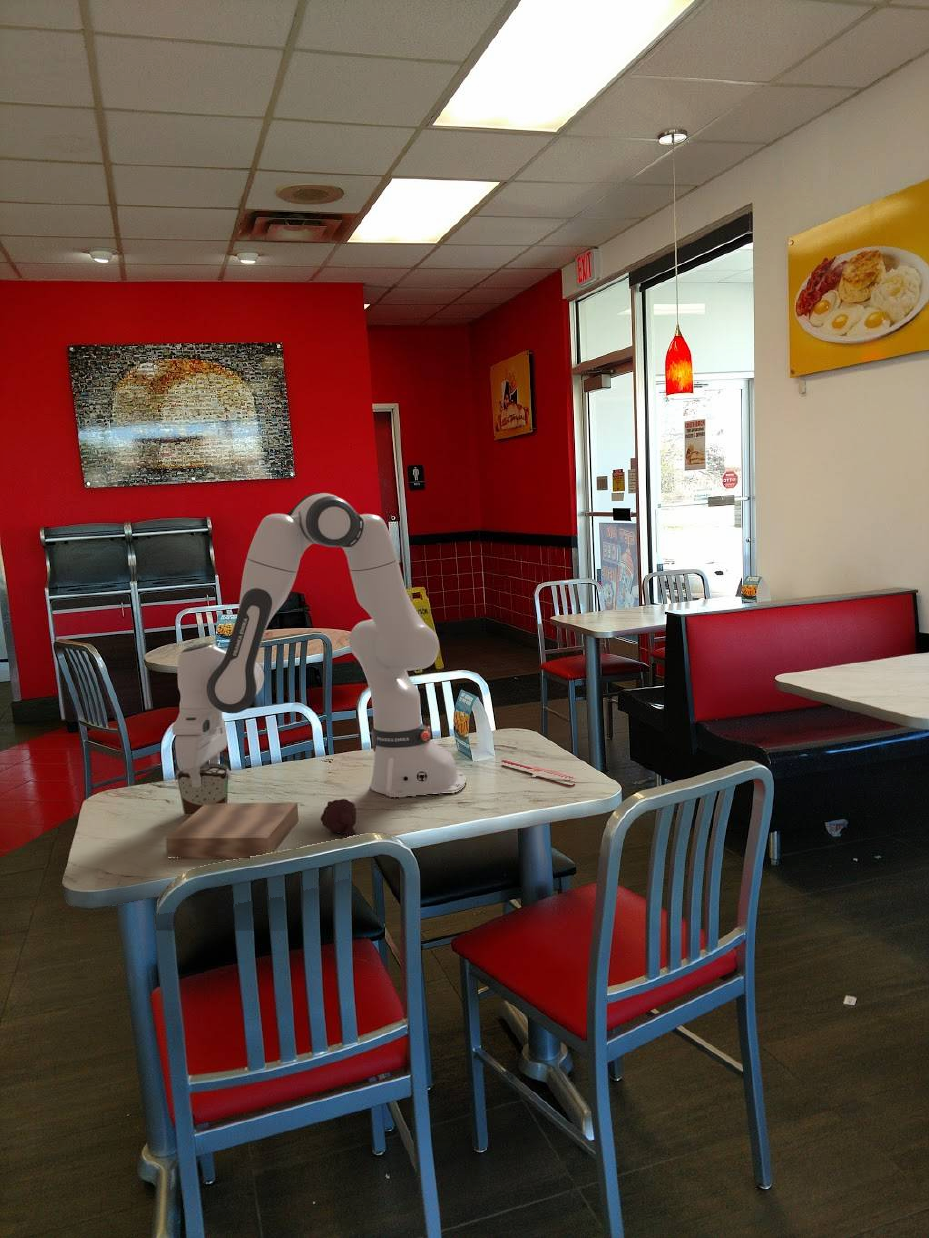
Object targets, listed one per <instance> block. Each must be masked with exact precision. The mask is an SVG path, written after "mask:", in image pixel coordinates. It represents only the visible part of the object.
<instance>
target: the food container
mask: <svg viewBox="0 0 929 1238" xmlns="http://www.w3.org/2000/svg"><path fill="white" fill-rule="evenodd" d="M199 773H200V777H202V783H203V784H202V785H201V786H200V787H193V786H192V779H191V777H190V775H189V773H188V771H180V769H179V768H178V769H177V770H176V772H175V775H174V781H177V785H178V790H179V795H180V799H181V804H182V806H181V807H182V810H183V815H184V816H185V817H186V816H190V817H191V816H192V815H193V814H194V813H195V812H196V811H197V810H199V809H200V808H201V807H202V806H203V805H204V804H205V803H229V802H228V799H229V795H228V793H229V790H228V789H229V780H231V779H232V774H231V771H230V769H229V767H228V766H227V765H226V764H222V763H218V764H216V763H209V762H207V763H205V764H203V765H202V766H201V767H200V772H199Z"/></svg>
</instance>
